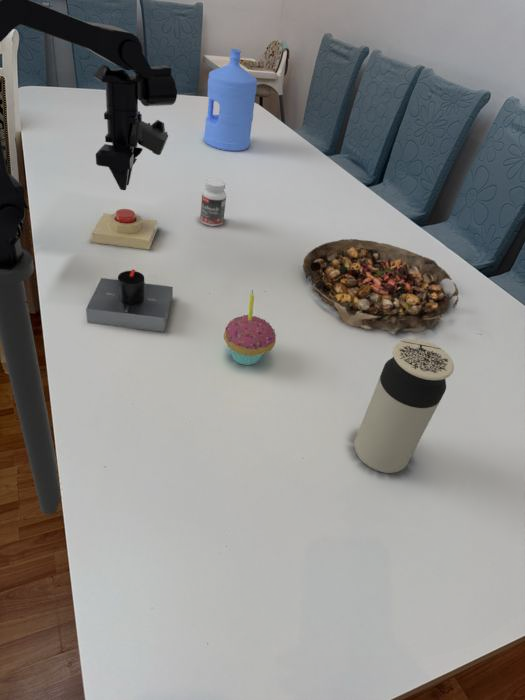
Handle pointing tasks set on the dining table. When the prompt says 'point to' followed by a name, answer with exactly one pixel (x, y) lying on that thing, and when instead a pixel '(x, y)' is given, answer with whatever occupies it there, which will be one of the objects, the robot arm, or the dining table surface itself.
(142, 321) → the panel
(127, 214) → the button
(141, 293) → the knob
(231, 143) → the water jug
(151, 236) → the housing
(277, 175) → the dining table surface
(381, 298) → the food dish
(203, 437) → the dining table surface
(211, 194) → the pill bottle
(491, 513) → the dining table surface
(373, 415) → the travel mug
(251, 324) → the cupcake
